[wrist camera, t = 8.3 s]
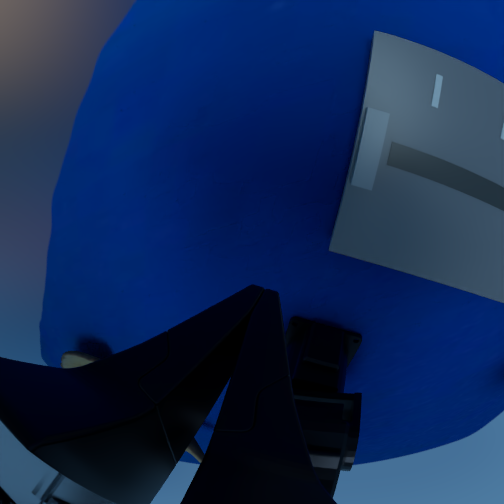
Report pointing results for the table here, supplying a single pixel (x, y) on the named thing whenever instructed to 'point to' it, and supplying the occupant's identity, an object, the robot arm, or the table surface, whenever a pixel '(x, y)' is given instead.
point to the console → (427, 170)
